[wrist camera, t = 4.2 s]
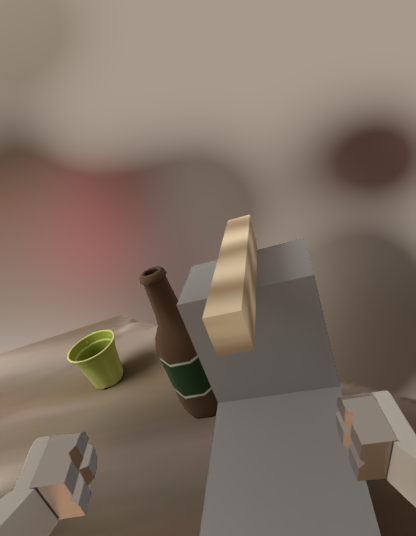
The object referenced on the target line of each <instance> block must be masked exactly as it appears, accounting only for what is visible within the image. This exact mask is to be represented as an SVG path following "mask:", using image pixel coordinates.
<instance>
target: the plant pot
mask: <svg viewBox="0 0 416 536" xmlns="http://www.w3.org/2000/svg"><path fill="white" fill-rule="evenodd" d="M114 339H115V335H114V333H113V332H112V331H111V330H101V331H97V332H94V333H92V334H90V335H88V336H86V337H84V338H83V339H81V340H80V341H78V342H77V343H76V344H75V345H74V346H73V347H72V348H71V349H70V351H69V353H68V356H67V358H68V360H69V362H71V363H74V364H75V365H76V366H77V367H79V368H80V369H81V371H82V372H83V373H84V374H85V375H86V376H87V378H88V379H89V380H90V381H91V382H92V384H93V385H94V386H95V387H96V388H97V389H104V388H106V387H111V386H113V385H115V384H116V383H117V382H118V381H119V380H120V379H121V378H122V376H123V368H122V365H121V362H120V359H119V356H118V353H117V350H116V347H115V340H114Z"/></svg>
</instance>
